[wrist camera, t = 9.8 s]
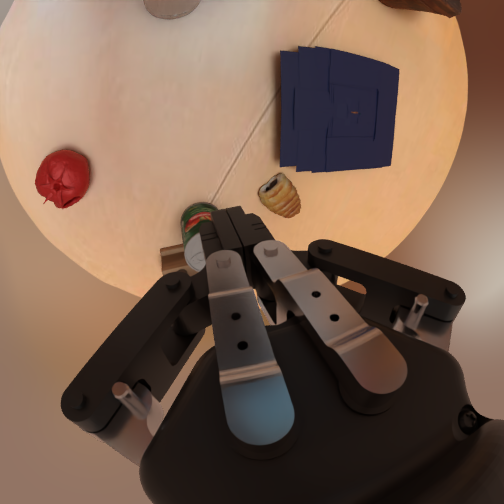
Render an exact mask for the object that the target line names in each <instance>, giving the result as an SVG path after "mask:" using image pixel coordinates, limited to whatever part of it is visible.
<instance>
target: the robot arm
mask: <svg viewBox="0 0 504 504" xmlns="http://www.w3.org/2000/svg"><path fill="white" fill-rule="evenodd" d="M199 2H200V0H144V3H145V6H146V9H147V10H148V11H149V12H150V13H151V14H152V15H154V16H156V17H158V18H162V19H175V18H179V17H182V16H185V15H187V14H188V13H190V12H192V11H193V10H194V9H195V8H196V7H197V5H198V4H199ZM210 216H211V222H206V223H202V224H201V226H200V228H199V233H200V238H201V243H202V248H203V253H204V257H205V261H206V264H205V266H204V268H203V269H202V270H201V271H200V272H198V273H196V274H195V275H192V276H189V275H188V274H187V273H184V272H171V273H168V274H166V275H164V276H162V277H161V278H160V279H159V280H158V281H157V282H156V283H155V284H154V285H153V286H152V288H151V289H150V290H149V291H148V292H147V293H146V294H145V295H144V296H143V298H142V299H141V300H140V301H139V302H138V303H137V304H136V305H135V307H134V308H133V309H132V310H131V311H130V312H129V313H128V315H127V316H126V317H125V318H124V319H123V320H122V321H121V323H120V324H119V325H118V326H117V327H116V328H115V330H114V331H113V332H112V333H111V334H110V336H109V337H108V338H107V339H106V340H105V341H104V343H103V344H102V345H101V346H100V348H99V349H98V350H97V351H96V352H95V354H94V355H93V356H92V357H91V358H90V360H89V361H88V362H87V363H86V364H85V366H84V367H83V368H82V369H81V371H80V372H79V373H78V374H77V376H76V377H75V378H74V380H73V381H72V382H71V383H70V385H69V386H68V387H67V389H66V390H65V391H64V393H63V395H62V398H61V409H62V412H63V414H64V415H65V417H67V418H68V419H69V420H71V421H72V422H73V423H75V424H76V425H78V426H79V427H80V428H81V429H82V430H83V431H85V432H86V433H88V434H89V435H91V436H93V437H94V438H96V439H97V440H99V441H101V442H103V443H106V444H108V445H109V446H110V447H112V448H113V449H115V450H116V451H117V452H119V453H120V454H121V455H123V456H124V457H126V458H127V459H129V460H130V461H131V462H133V463H135V464H136V465H138V466H139V467H140V469H139V475H140V481H141V484H142V487H143V489H144V491H145V493H146V495H147V496H148V498H149V499H150V500H151V501H152V503H153V504H504V420H494V419H489V418H486V417H484V416H482V415H480V414H479V413H478V412H477V411H476V410H475V409H474V408H473V406H472V404H471V402H470V399H469V397H468V393H467V390H466V386H465V380H464V375H463V372H462V369H461V367H460V364H459V363H458V361H457V360H456V359H455V358H454V357H453V356H452V355H451V354H450V353H449V352H448V351H449V345H450V338H451V331H452V323H453V321H454V320H455V318H456V316H457V314H458V313H459V311H460V309H461V307H462V306H463V304H464V302H465V299H466V296H465V293H464V291H463V289H461V287H460V286H459V285H457V284H455V283H454V282H452V281H449V280H446V279H443V278H441V277H438V276H435V275H432V274H430V273H427V272H424V271H421V270H418V269H415V268H413V267H410V266H407V265H404V264H401V263H398V262H395V261H392V260H389V259H386V258H383V257H380V256H377V255H374V254H371V253H368V252H365V251H362V250H359V249H356V248H353V247H350V246H347V245H344V244H340V243H337V242H334V241H331V240H325V239H321V240H316V241H313V242H311V243H310V244H309V246H308V251H292V250H290V249H289V248H288V247H287V246H286V245H285V244H284V243H282V242H280V241H276V240H275V239H274V238H273V236H272V235H271V233H270V232H269V230H268V229H267V228H266V226H265V224H264V223H263V221H262V220H261V218H260V217H259V216H257V215H255V214H253V213H251V214H245V213H244V211H243V209H242V208H241V206H236V207H231V208H226V209H221V210H216V211H211V212H210ZM338 276H340V277H343V278H346V279H348V280H351V281H354V282H357V283H360V284H362V285H363V286H364V287H365V288H366V292H367V293H366V294H361V293H358V292H356V291H353V290H350V289H348V288H345V287H342V286H339V285H337V279H338ZM253 289H256V291H257V300H258V303H259V305H260V307H261V309H262V310H263V312H264V314H265V316H266V318H267V319H268V321H269V323H270V325H269V326H265V325H264V322H263V319H262V316H261V313H260V309H259V306H258V303H257V300H256V297H255V294H254V290H253ZM210 325H212V327H213V334H214V341H215V346H213V347H212V348H210V349H209V350H208V351H206V352H205V353H204V354H203V355H202V356H201V358H200V359H199V360H198V361H197V363H196V364H195V366H194V368H193V369H192V371H191V373H190V375H189V376H188V378H187V380H186V381H185V383H184V385H183V387H182V389H181V390H180V392H179V394H178V396H177V397H176V399H175V401H174V402H173V404H172V406H171V408H170V409H169V411H168V413H167V415H166V416H165V418H164V420H163V415H164V412H163V408H162V406H161V404H160V402H161V400H162V398H163V397H164V395H165V394H166V392H167V391H168V389H169V388H170V386H171V385H172V383H173V382H174V380H175V379H176V377H177V375H178V374H179V372H180V371H181V369H182V368H183V366H184V365H185V363H186V362H187V360H188V359H189V357H190V355H191V354H192V352H193V351H194V349H195V348H196V346H197V345H198V343H199V342H200V340H201V338H202V337H203V335H204V333H205V328H206V327H208V326H210ZM162 420H163V421H162ZM161 422H162V423H161Z"/></svg>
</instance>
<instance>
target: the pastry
mask: <svg viewBox="0 0 504 504" xmlns="http://www.w3.org/2000/svg"><path fill="white" fill-rule="evenodd" d="M259 197H260V199H261V202H262V204H263V205H265V206H266V207H267V208H268V209H269V210H270V211H272V212H274V213H275V214H278V215H281V216H283V217H285V218H291V217H293V216H295V215H296V214H298V213H299V212H300V208H301V204H300V199H299V196H298V194H297V190H296V188H295V187H294V186H293V185H292V183H291V181H290V180H288V179H287V178H286V177H285V175H284V174H282V173H281V174H278V175H276V176H274V177H272V178H271V179H270V180H269V182H268V183H267V184H266V185H264V186H262V187H261V188H260V191H259Z"/></svg>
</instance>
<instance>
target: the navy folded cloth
mask: <svg viewBox="0 0 504 504" xmlns="http://www.w3.org/2000/svg"><path fill="white" fill-rule="evenodd" d="M298 51H299V52H290V51H280V56H281V146H280V167H288V166H296V172H302V171H312V173H316V172H333V171H344V170H357V169H371V168H381V167H385V166H391V159H392V150H393V140H394V128H395V115H396V106H397V95H398V82H399V69H397V68H395V67H392V66H391V65H389V64H386V63H383V62H380V61H377V60H374V59H370V58H367V57H363V56H360V55H356V54H352V53H348V52H344V51H340V50H335V49H329V48H323V47H317V46H315V48H309V47H301V46H298Z"/></svg>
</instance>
